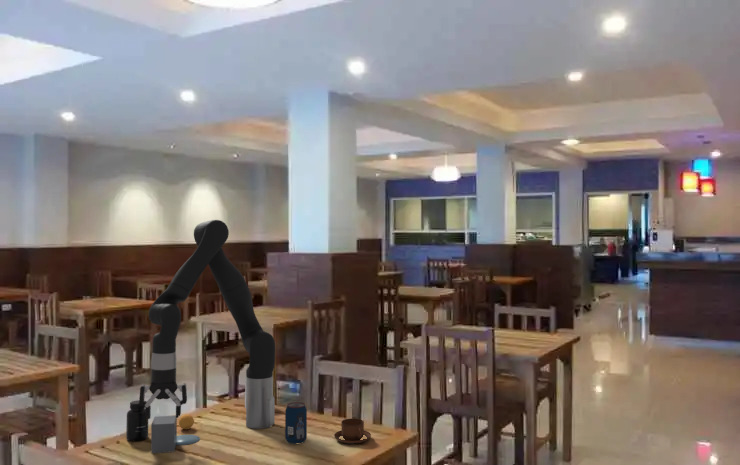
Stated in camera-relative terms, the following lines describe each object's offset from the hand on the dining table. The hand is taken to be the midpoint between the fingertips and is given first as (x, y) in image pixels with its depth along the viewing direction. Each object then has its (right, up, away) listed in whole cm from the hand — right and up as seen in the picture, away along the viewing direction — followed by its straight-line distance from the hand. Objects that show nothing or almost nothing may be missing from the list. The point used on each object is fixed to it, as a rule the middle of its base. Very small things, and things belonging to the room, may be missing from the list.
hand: (163, 417), depth 204 cm
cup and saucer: (+60, -10, +8) cm, 61 cm away
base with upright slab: (+21, -10, +47) cm, 52 cm away
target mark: (+4, -9, +7) cm, 13 cm away
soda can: (+41, -10, +7) cm, 43 cm away
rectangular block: (0, -9, 0) cm, 9 cm away
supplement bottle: (-11, -10, +9) cm, 17 cm away
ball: (+2, -7, +19) cm, 20 cm away
